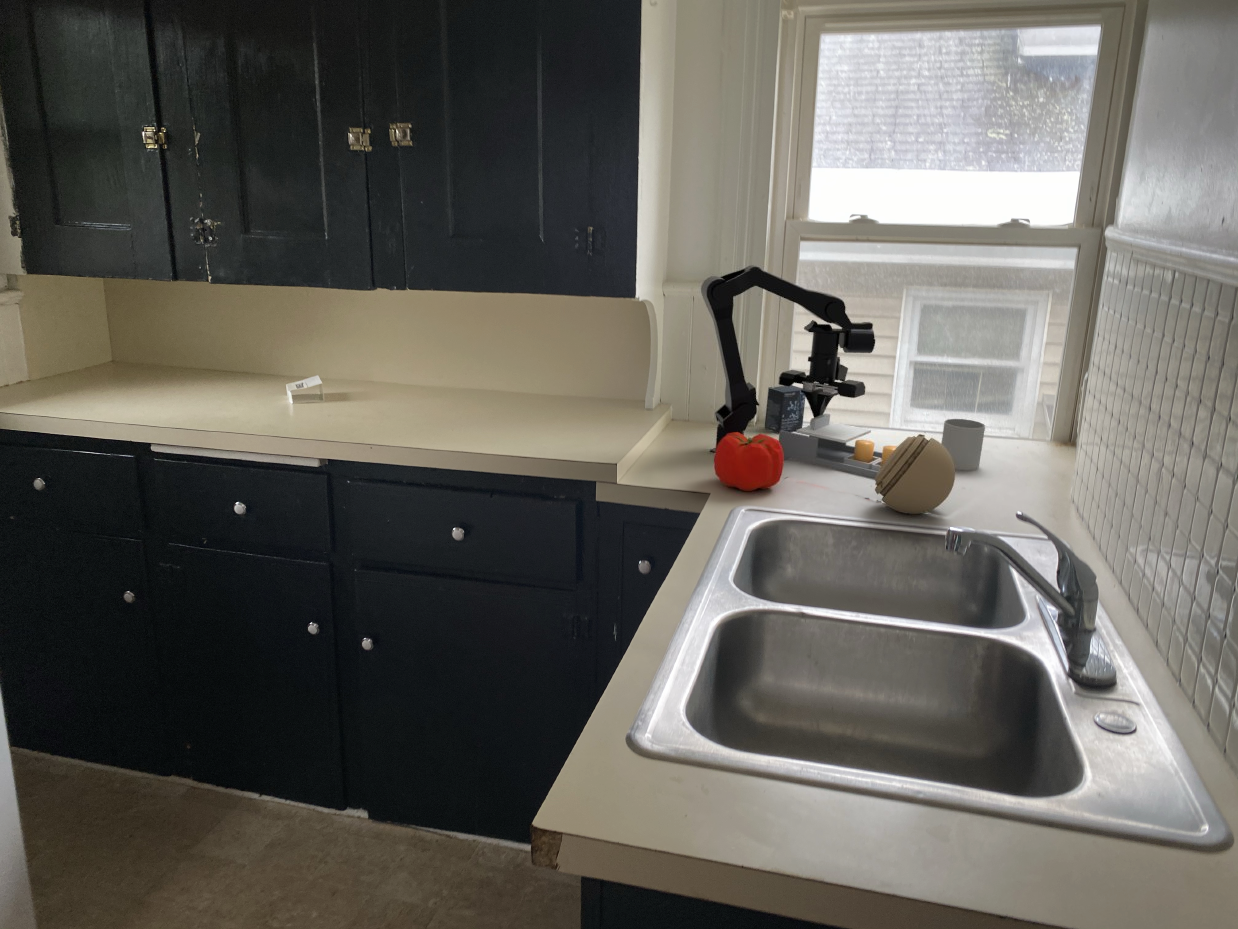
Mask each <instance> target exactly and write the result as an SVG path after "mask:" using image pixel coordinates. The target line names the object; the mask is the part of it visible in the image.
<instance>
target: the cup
mask: <svg viewBox="0 0 1238 929" xmlns="http://www.w3.org/2000/svg"><path fill="white" fill-rule="evenodd" d="M985 429H986V425H985V424H984V423H982V422H980V421H977V420H971V419H965V418H947V419H945V420H944V422H943V430H942V436H941V442H940V443H941V444H942V445H943V446H944V447H945V448H946V449H947V451H948V452H949V454H950V455H951V457H952V460H953V463H954V467H955V470H959V471H975V470H978V469H979V468H980V464H981V456H982V450H983V443H984V439H985V438H984V436H985V432H986V431H985Z"/></svg>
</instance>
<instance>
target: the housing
mask: <svg viewBox="0 0 1238 929" xmlns="http://www.w3.org/2000/svg"><path fill="white" fill-rule="evenodd" d="M809 425H811V420H810V422H809ZM778 434H779V436H778V441H779V442H780V444H781V446H782V449H783V455H784V460H785V461H786V460H795V461H799V462H804V463H808V464H811V465H816V466H820V467H825V468H830V469H834V470H837V471H841V472H845V473H850V474H853V475H854V474H855V475H858V476H863V477H867V478H871V479H875V477H876V476H877V474H878V472H879V470H880V469H881V467H882V466H881V460H882V452H881V451H877V450H874V451H873V460H872V462H870V463H866V462H861V461H857V460H853V459H854V450H855V445H854V446H853V445H848V444H847V442H846V443H842V442H838V441H833V440H828V439H824V438H819V437H814V436H810V435H805V434H801V433H794V432H792V431H790V432H786V431H782V430H781V431H780V433H778Z"/></svg>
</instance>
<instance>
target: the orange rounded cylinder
mask: <svg viewBox="0 0 1238 929" xmlns="http://www.w3.org/2000/svg"><path fill="white" fill-rule="evenodd" d="M854 447H855V450H854V459H853V460H857V461H861V462H866V463H870V462H872V460H873V451H875V442H874V441H871V440H867V439H857V440H855V442H854Z"/></svg>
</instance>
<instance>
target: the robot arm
mask: <svg viewBox="0 0 1238 929" xmlns="http://www.w3.org/2000/svg"><path fill="white" fill-rule="evenodd" d="M754 287H758V288H760V289H761V290H765V291H767V292H769V293H772V294H774V295H776V296H778V297H781V298H783V299H785V300H788V301H790V302H792V303H795V304H797V305H798V306H800V307H801V308H803V309H804V310H805V311H807V312H809V313H810V314H811V315H813V316H815V317H816V318H817V319H819V320H821V321H824V322H826V323H818V322H817V321H816V320H813V319H812V320H811V321H810V322H809V324H807V325H805V326H804V327H803V329H804V330H805V331H806V332H808V333H812V343H811V350H810V351H811V352H810V356H808V357H807V362H810V363H809V370H808V371H809V373H808V374H806V372H805V371H801V370H795V369H789V370H785V371H782V372H781V373H780V374H779V377H778V384H777V385H779V386H789V387H790V386H791V385H793V386H794V384H799V385H802V388H803V389H802V390H801V393H804V395H805V400H806V401H807V403H808V405H809V407H810V410H811V413H812V416H813V418H815V417H818V416H821V415H824V414H825V412H826V410H827V407H828V405H829V403H830V402H831V400H832V399H833V398H834V397H836V396H840V397H845V398H850V399H855V398H859V397H862V396H863V395H866V394H865V393H866V388H867V387H866V385H865V383H864V381H858V380H853V379H846V378H847V374H848V370H849V368H848V367H847V366H845V365H843V364H841V359H840V358H841V357H840V356H838V354H839V348H840V349H842V350H843V353H845V354H848V353H849V354H871V353H872V352H874V349H875V345H876V339H875V332H874V328H873V327H874V323H873V322H870V321H863V322H852V321H851V319H850V318H849V316H848V315H847V312H846V311H847V310H846V308H847V307H846V304H845V302H844V300H843V299H842V298H840V297H839V296H836V295H833V294H830V293H827V292H822V291H819V290H814V289H813V290H812V289H807V288H804V287H802V286H800V285H798V284H795V283H793V282H791V281H789V280H786V279H784V278H782V277H779V276H777V275H774V274H772V273H771V272H768V271H765V270H763V269H762V268H761V267H759V266H757V265H754V264H753V265H752V264H750V265H748V266H746V267H744V268H742V269H738V270H736V271H732V272H730V273H726V274H724V275H721V276H717V275H713V276H712V275H711V276H708V277H707V278H706V279H705V280H703V282H702V284H701V286H700V293H701V296H702V298H703V301H704V303H705V306H706V308H707V311H708V312H709V314H710V316H711V318H712V321H713V325H714V329H715V331H714V332H715V334H716V340H717V344H718V345H717V346H718V350H719V353H720V358H721V364H722V368H723V372H724V376H725V388H724V404H723V405H722V406H721V407H720V408H718V409H717V410H716V411H715V413H714V415H715V419H716V421H717V422H718V424H717V426H716V439H715V448H711V449H709V453H713V454H715V451H716V448H717V445H718V443H719V442H720V441H721V439H722V438H723V437H725V436H726V435H727V434H728V433H733V432H738V433H740V434H742V435H744V436H745V434H744V433H745V431H746V430H747V428H748V425H749V423H750V422H751V421H752V420H754V418H755V417H756V415H757V413H758V408H757V407H760V403H759V402H758V399H757V389H756V387H755V386H754V385H753V384H752V383H751V382H747V381H746V378H745V375H744V374H745V373H744V370H743V369H744V368H743V365H742V360H741V354H740V349H739V345H738V344H739V343H738V340H737V334H736V329H735V326H734V320H733V317H734V314H733V312H734V305H735V304H734V297H737V296H739V295H741V294H743V293H744V292H746V291H748V290H750V289H752V288H754ZM831 324H834V325H835V326H837V327H839V328H834V327H833V326H832V325H831ZM839 381H840V382H839Z"/></svg>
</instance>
